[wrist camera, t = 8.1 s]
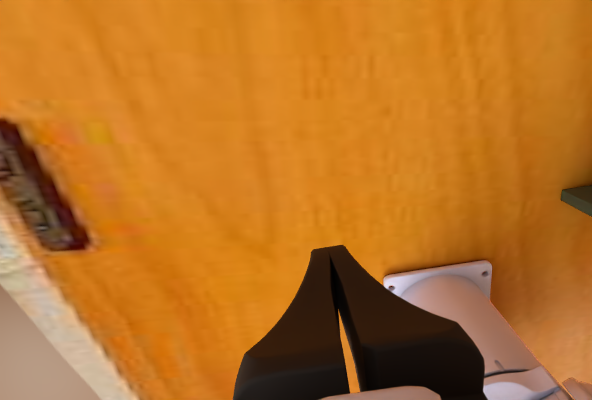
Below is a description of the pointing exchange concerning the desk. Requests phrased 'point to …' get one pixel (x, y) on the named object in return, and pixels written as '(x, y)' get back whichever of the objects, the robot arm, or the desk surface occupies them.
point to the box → (579, 198)
